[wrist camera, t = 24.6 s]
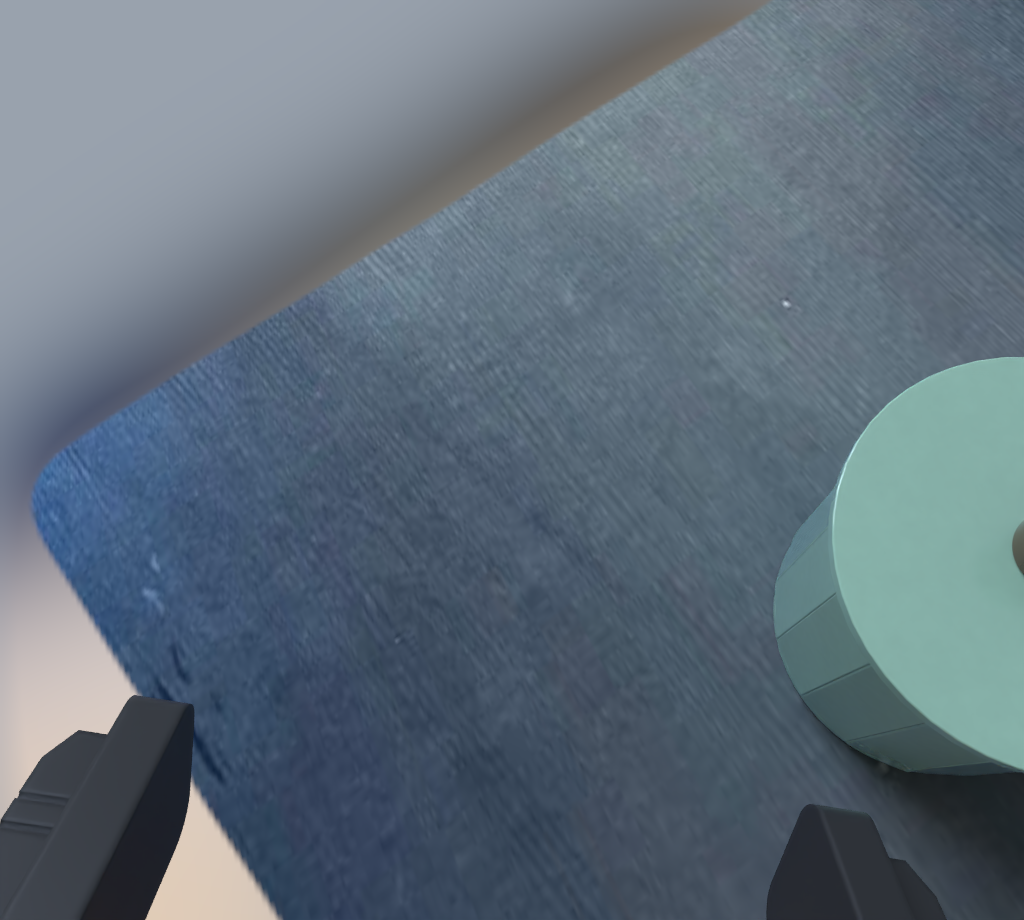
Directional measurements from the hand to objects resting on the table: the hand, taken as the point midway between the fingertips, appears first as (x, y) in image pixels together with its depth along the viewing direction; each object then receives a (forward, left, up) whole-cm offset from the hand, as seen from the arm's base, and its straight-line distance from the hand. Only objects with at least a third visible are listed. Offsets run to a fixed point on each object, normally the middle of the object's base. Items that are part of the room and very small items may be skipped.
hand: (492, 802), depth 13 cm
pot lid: (+15, +2, -12) cm, 20 cm away
